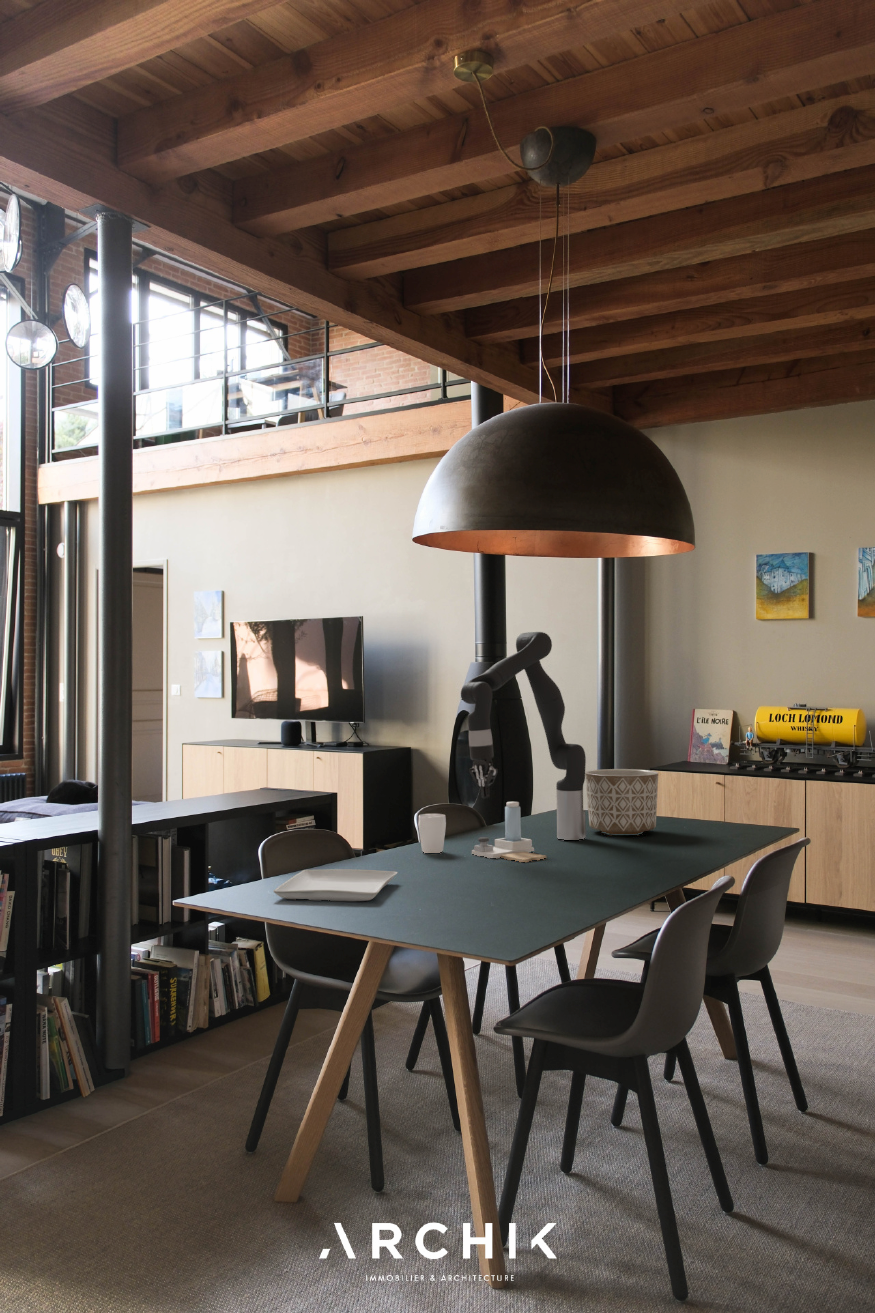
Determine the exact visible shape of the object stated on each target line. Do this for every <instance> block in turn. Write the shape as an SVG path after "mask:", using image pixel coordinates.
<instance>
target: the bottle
mask: <svg viewBox="0 0 875 1313" xmlns="http://www.w3.org/2000/svg"><path fill="white" fill-rule="evenodd" d="M521 821H522V819H521V806H520V802H519V801H507V802H506V806H504V825H505V828H504V829H505V830H504V832H505V835H504V836H505V837H504V838H505V841H511V842H515V841H521V838H522V830H521V828H522V827H521V826H522V825H521V824H522V823H521Z"/></svg>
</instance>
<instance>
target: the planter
mask: <svg viewBox="0 0 875 1313" xmlns="http://www.w3.org/2000/svg"><path fill="white" fill-rule="evenodd" d="M585 784H586V785H585V786H586V787H585V789H586V797H587V798H586V799H587V811H588V824H589V827H590V828H591V829H593V830H596V831H602V832H606V833H609V834H638V833H641V832H644V833H645V832H647V831H651V830H654V829H655V828H656V826H657V812H658V811H657V810H658V809H657V808H658V793H659V791H658V790H659V789H658V788H659V786H658V785H659V772H658V771H655V770H647V769H637V768H636V769H634V768H631V769H628V768H612V769H611V768H610V769H608V768H607V769H605V768H604V769H593V770H592V769H591V770H587V771H585ZM602 832H601V833H602Z"/></svg>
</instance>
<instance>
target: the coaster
mask: <svg viewBox="0 0 875 1313" xmlns="http://www.w3.org/2000/svg"><path fill="white" fill-rule="evenodd" d="M501 858H504V859H503V860H506V859H507V861H511V860H515V861H514V862H516V861H519V862H518V863H521V862H525V863H530V862H529V861H531V862H533V861H532V860H537V861H541V860H540V859H543V860H545V859H544V858H546V859H547V855H545V854H539V853H535V852H533V853H529V852H518V853H512V854H506V855H501ZM501 858H500V859H501Z"/></svg>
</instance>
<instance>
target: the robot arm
mask: <svg viewBox="0 0 875 1313" xmlns="http://www.w3.org/2000/svg"><path fill="white" fill-rule="evenodd" d="M552 643H553V642H552V639H551V637H550V636H549V634H547V633H546V632H544V631H534V632H533V631H531V632H530V631H529V632H528V631H527V632H522V633H520V634H519V635H518V636H517V638H516V641H515V648H516V652H515V653H513V654H512V655H509V656H507V657H505V658H503V659H502V660H499V661H498V662H496V663H495V664H493V665H492V666H491V667H489V669H487V670H486V671H484V672H483V673H482V674H480V675H478V676H475V677H474V678H472V679H470V680H468V681H467V682H466V683H465V684H464V685H463V686H462V688H461V690H460V698H461V699H462V701H463V702H464V703H466V704H469V705H475V706H474V710H473V711H471V712H469V713H468V715H467V725H468V746H469V757H470V760H472V761H473V762H472V767H471V768H468V771H469V774H470V776H471V777H472V779H473V782H474V783H475V784H476V785H478V786H479V787H480V795H481V798H482V799H489V798H490V796H491V793H490V792H491V791H490V786H492V784H494V783H495V780H496V778H497V775H498V773H499V770H498V768H495V767H494V764H493V761H492V759H493V758H494V756H495V755H494V744H493V743H494V742H493V736H492V734H493V733H492V730H491V719H490V716H491V709H492V704H493V691H497V690H499V689H500V688H502V687H503V686H504V685H506V683H508V682H509V681H510V680H511V679H513V677H515V676H516V675H518V674H519V673H521V672H522V671H523V670H524V672H525V675H526V677H527V680H528V682H529V685H530V688H531V691H532V693H533V697H534V701H535V704H536V707H537V712H538V713H539V716H540V720H541V723H542V727H543V730H544V733H545V738H546V740H547V741H546V742H547V745H548V746H547V747H548V752H549V756H550V759H551V762H552V765H553V766H554V767H555V768H556V769H557V770H563V771H566V772H565V777H563V778H562V779H560V780H557V782H556V839H557V838H558V839H564V840H579V839H583V840H585V839H586V838H587V836H586V835H587V834H586V811H585V810H584V784H585V782H586V775H585V772H586V763H587V761H586V759H587V758H586V752H585V749H584V747H583V746H582V745H580V744H576V743H566V741H565V740H566V739H565V738H564V734H563V729H562V726H563V721H564V718H565V713H566V706H565V702H564V699H563V696H562V692H561V690H560V688H559V687H558V685H557V684H556V682H555V681H554V680H553V679H552V678H551V677H550V676H549V675H548V673H547V672H546V671H545V668H544V667H543V666H542V664H541V660H543V659H544V658H546V657H547V656H548V655H549V654H550V653H551V651H552V647H553V644H552ZM585 837H586V838H585ZM584 838H585V839H584ZM558 839H557V840H558ZM564 840H563V841H564ZM579 841H580V840H579Z"/></svg>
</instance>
